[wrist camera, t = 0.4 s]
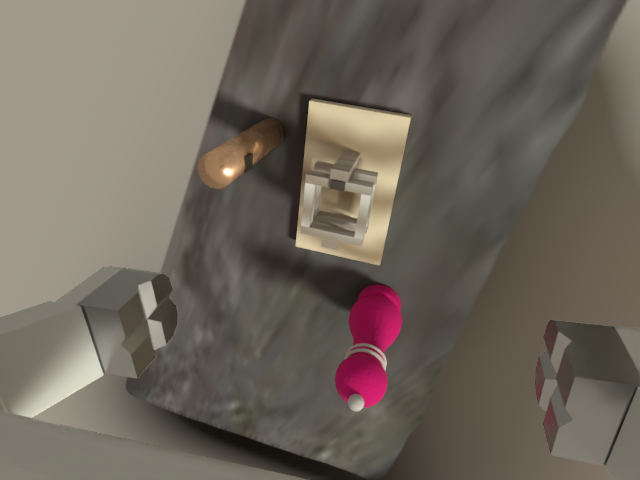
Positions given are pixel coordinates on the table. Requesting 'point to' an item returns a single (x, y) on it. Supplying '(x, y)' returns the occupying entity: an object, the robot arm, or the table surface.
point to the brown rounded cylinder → (240, 153)
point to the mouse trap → (349, 179)
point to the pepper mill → (369, 346)
